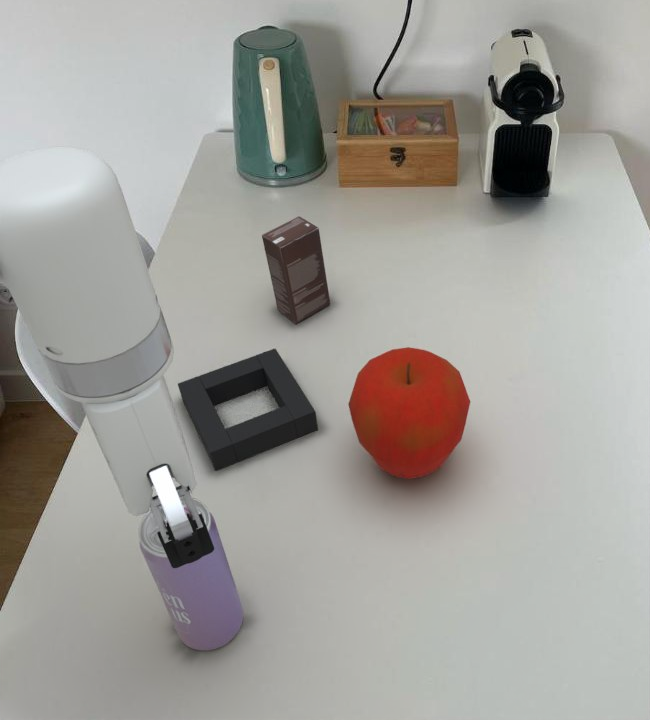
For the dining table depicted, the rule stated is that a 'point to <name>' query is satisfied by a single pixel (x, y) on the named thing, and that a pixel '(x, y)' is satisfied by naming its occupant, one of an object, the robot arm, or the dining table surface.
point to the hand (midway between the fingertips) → (174, 510)
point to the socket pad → (256, 432)
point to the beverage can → (195, 586)
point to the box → (297, 268)
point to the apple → (409, 411)
